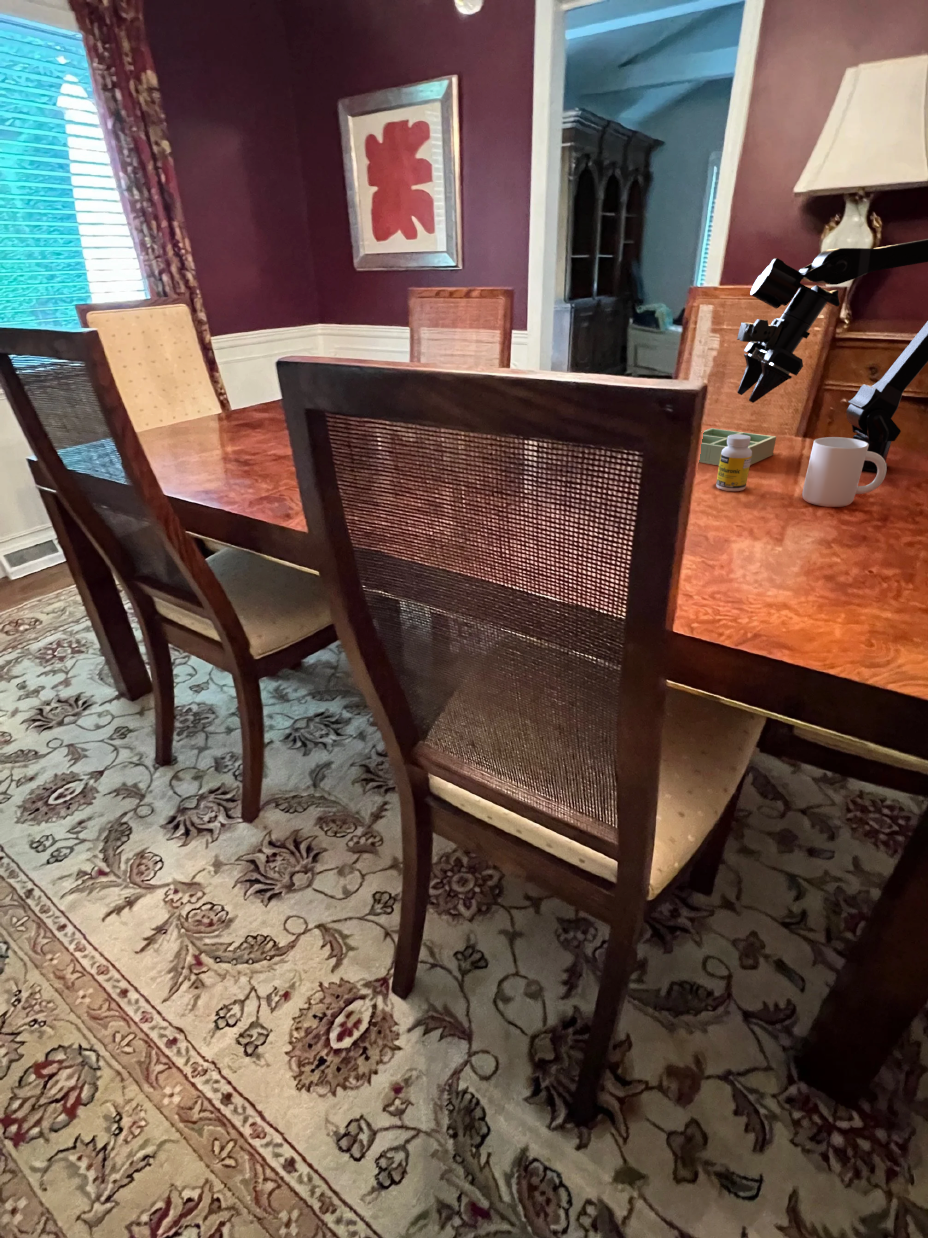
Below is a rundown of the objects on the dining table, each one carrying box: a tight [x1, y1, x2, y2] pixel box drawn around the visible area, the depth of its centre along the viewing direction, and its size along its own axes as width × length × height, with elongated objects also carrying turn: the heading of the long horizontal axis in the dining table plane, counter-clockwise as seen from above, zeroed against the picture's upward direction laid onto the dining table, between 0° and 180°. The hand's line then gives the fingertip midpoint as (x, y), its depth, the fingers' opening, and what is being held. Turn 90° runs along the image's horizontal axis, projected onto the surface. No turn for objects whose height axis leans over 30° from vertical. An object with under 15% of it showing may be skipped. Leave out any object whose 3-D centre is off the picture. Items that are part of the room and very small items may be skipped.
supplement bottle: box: [715, 434, 752, 492], centre depth 117 cm, size 5×5×10 cm
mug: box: [801, 436, 888, 508], centre depth 108 cm, size 12×8×10 cm
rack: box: [698, 427, 777, 467], centre depth 139 cm, size 15×15×4 cm
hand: (744, 397), depth 125 cm, fingers open, 9 cm apart
